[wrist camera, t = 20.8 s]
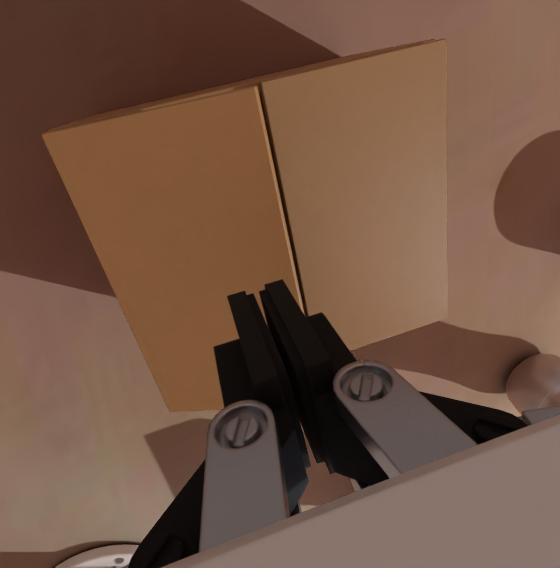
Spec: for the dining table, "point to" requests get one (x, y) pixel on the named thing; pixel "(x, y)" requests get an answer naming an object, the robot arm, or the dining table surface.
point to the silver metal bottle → (535, 383)
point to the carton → (359, 183)
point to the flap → (181, 227)
